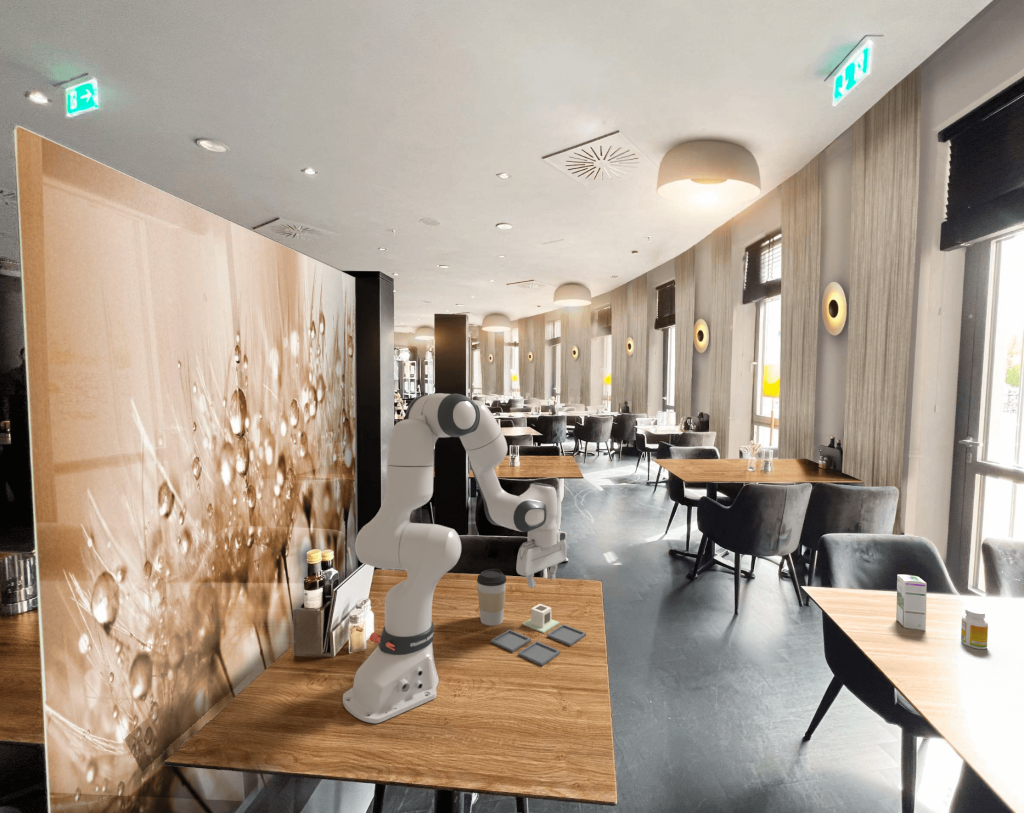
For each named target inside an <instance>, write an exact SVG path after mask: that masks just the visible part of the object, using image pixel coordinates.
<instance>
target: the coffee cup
mask: <svg viewBox="0 0 1024 813" xmlns="http://www.w3.org/2000/svg"><path fill="white" fill-rule="evenodd" d="M476 583H477V596H478V608H479V617H480V623H481V624H483V625H486V626H492V627H493V626H499V625H501V624H502V623H503V620H504V611H505V610H504V609H505V605H506V604H505V602H506V589H507V588H506V583H507V577H506V575H505V574H504V573H503V572H502V570H501V569H499V568H493V569H486V570H483V571H481V572H480V573H479V575H477V579H476Z"/></svg>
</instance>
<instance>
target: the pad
mask: <svg viewBox="0 0 1024 813" xmlns="http://www.w3.org/2000/svg"><path fill="white" fill-rule="evenodd" d="M522 625H523V626H524V627H527V628H530V629H532V630H534V631H537V632H540V633H542V634H545V633H546V632H549V631H550V630H552V629H553V628H555V627H556V626H558V625H560V622H559V621H558V620H554V619H552V623H550V624H548V625H547V626H545V627H543V628H541V627H539V626H536V625H534V624H531V618H530V619H528V620H525V621H524V622H522Z"/></svg>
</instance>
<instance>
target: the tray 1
mask: <svg viewBox="0 0 1024 813" xmlns="http://www.w3.org/2000/svg"><path fill="white" fill-rule="evenodd" d="M531 641H532V637H531V638H530V637H529V636H526V635H523V634H521V633H519V632H517V631H514V630H512V629H507V630H506V631H505V632H502V633H501V634H499V635H497V636H495V637H494V638H492V639H491V640H490V643H491V644H493V645H495V646H496V647H499V648H502V649H503V650H506V651H508V652H510V653H512V654H513V653H514V652H516V651H518V650H519V649H521V648H523V647H524V646H526V645H527V644H529V643H531Z"/></svg>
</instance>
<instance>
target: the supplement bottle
mask: <svg viewBox="0 0 1024 813" xmlns="http://www.w3.org/2000/svg"><path fill="white" fill-rule="evenodd" d="M964 612H965V615H962V617H961V628H960V629H961V630H960V632H961V633H960V641H961V643H962V644H963V645H965V646H967V647H970V648H972V649H977V650H985V649H987V648H988V634H989V622H988V621H987V620H986V619H985V618H986V613H985V612H984V611H983V610H981V609H978V608H975V607H974V608H973V607H965V611H964Z"/></svg>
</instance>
